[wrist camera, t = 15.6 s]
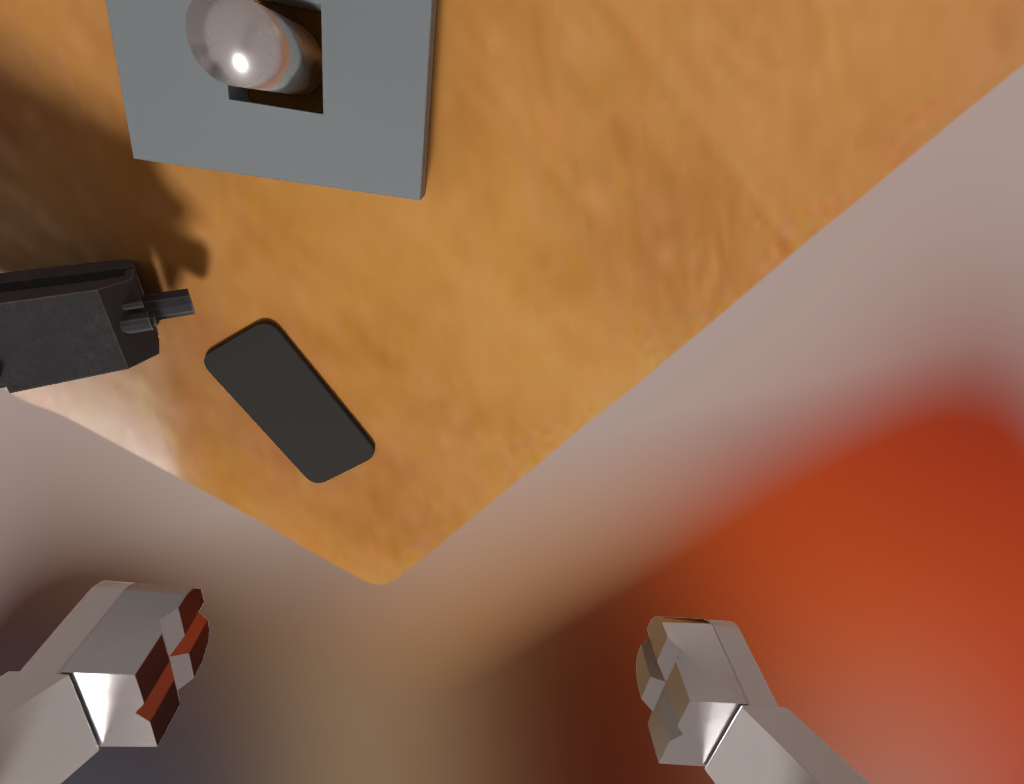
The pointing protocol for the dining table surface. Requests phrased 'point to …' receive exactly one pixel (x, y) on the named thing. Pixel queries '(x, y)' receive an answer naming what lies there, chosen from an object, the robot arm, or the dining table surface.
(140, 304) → the tool
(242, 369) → the phone
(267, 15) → the steel pin
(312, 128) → the socket plate
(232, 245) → the dining table surface
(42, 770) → the robot arm
